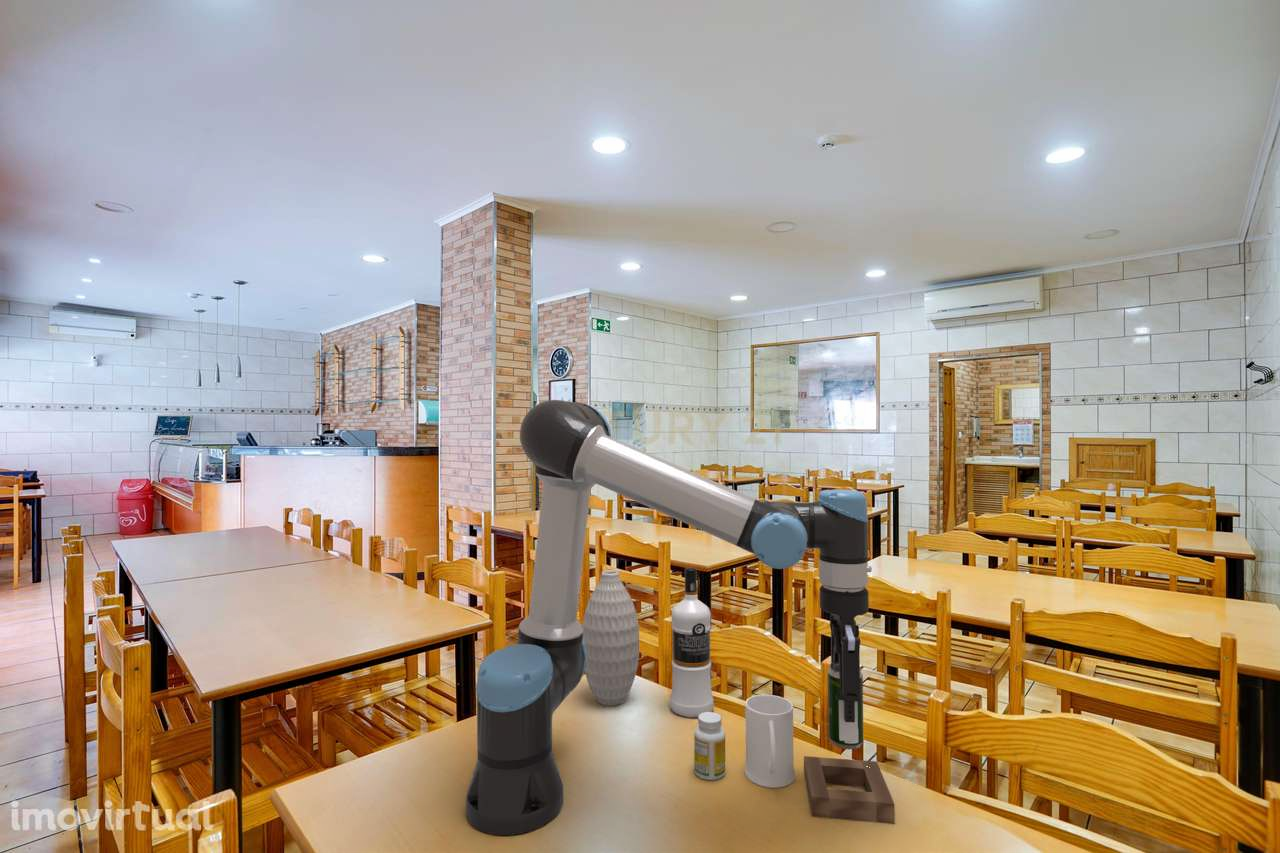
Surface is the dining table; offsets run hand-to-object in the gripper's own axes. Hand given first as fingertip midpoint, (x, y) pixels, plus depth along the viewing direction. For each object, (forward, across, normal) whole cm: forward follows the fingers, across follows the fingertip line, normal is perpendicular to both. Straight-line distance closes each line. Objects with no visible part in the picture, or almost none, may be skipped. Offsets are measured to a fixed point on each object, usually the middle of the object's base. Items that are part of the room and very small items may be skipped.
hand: (845, 730), depth 99 cm
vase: (+11, +30, +45) cm, 55 cm away
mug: (+11, +3, +12) cm, 16 cm away
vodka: (+11, +28, +27) cm, 40 cm away
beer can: (+2, 0, 0) cm, 2 cm away
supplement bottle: (+11, +4, +22) cm, 25 cm away
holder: (+11, 0, 0) cm, 11 cm away
